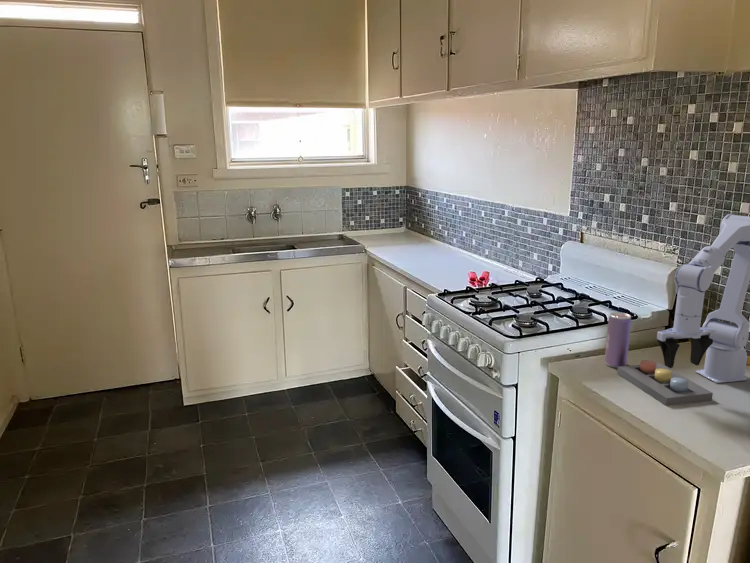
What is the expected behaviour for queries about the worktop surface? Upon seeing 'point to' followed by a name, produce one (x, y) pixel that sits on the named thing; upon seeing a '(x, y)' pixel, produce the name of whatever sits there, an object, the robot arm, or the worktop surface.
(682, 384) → the slate button
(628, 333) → the beverage can
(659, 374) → the ochre button
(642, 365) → the brick button
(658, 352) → the worktop surface
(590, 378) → the worktop surface
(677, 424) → the worktop surface
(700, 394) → the panel
